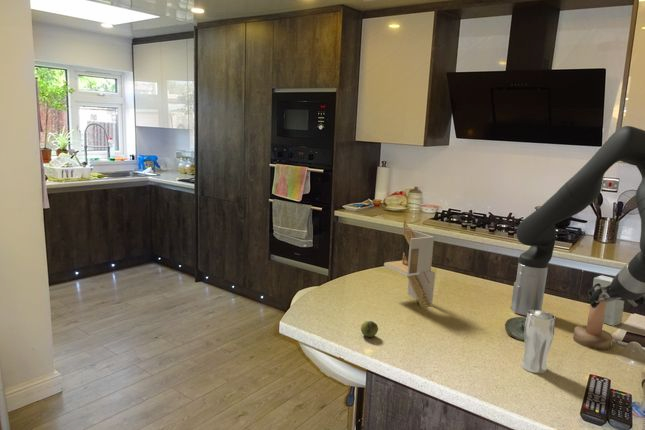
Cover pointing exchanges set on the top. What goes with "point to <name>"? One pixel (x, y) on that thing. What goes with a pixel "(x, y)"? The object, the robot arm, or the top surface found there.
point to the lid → (516, 327)
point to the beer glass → (537, 340)
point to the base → (592, 339)
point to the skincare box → (610, 303)
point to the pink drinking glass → (596, 319)
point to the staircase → (417, 266)
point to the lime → (369, 329)
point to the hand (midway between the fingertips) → (608, 306)
